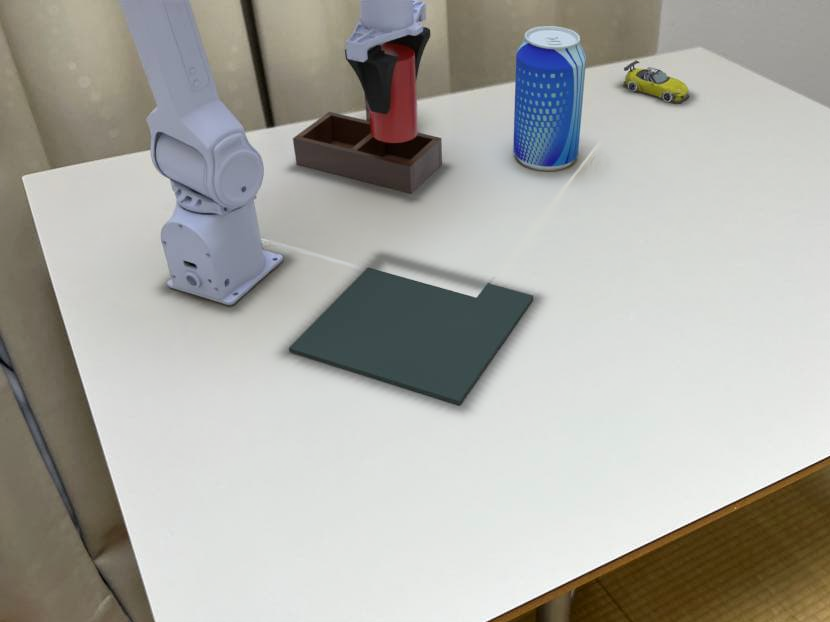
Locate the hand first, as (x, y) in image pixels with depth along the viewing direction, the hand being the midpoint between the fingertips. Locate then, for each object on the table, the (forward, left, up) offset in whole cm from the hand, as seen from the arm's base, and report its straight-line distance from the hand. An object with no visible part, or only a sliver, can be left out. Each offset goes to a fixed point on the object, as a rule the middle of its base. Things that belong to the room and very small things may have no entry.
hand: (392, 101), depth 103 cm
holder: (+1, +4, -10) cm, 11 cm away
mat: (-25, -16, -10) cm, 31 cm away
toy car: (+41, -22, -10) cm, 48 cm away
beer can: (+13, -15, -10) cm, 22 cm away
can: (0, 0, -4) cm, 4 cm away
